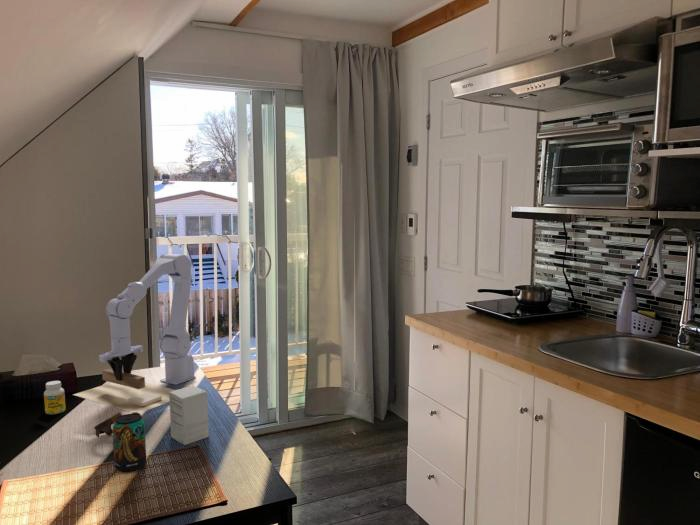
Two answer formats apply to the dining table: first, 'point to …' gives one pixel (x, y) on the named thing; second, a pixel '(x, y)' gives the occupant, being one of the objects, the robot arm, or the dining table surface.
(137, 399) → the tile
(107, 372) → the brown wooden bar
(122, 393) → the board
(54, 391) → the supplement bottle
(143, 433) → the beverage can
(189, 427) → the supplement box
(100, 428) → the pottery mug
